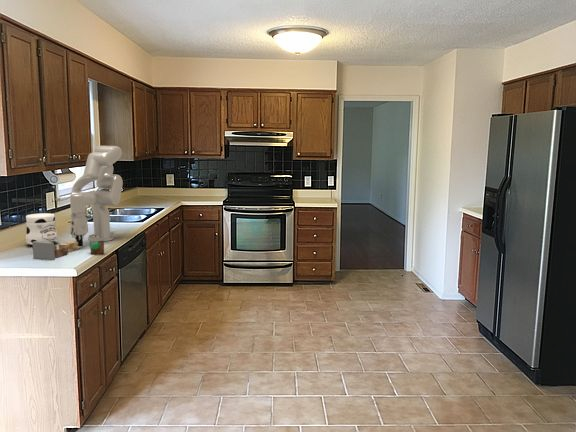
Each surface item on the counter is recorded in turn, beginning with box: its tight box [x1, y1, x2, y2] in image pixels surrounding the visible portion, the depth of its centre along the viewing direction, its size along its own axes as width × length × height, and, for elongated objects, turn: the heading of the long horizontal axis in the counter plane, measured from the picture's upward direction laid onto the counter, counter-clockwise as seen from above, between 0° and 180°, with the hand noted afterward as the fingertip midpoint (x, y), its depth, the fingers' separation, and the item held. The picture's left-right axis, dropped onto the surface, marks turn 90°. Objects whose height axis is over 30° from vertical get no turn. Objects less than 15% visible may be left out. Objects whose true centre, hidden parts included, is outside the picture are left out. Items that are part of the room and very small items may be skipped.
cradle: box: [54, 245, 69, 258], centre depth 260 cm, size 9×8×4 cm
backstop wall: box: [32, 241, 56, 261], centre depth 251 cm, size 2×12×9 cm, turn 74°
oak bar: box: [58, 240, 79, 254], centre depth 270 cm, size 10×4×5 cm, turn 163°
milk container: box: [25, 212, 59, 247], centre depth 285 cm, size 17×17×18 cm
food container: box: [87, 233, 105, 256], centre depth 265 cm, size 12×6×10 cm, turn 45°
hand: (79, 246), depth 278 cm, fingers closed
